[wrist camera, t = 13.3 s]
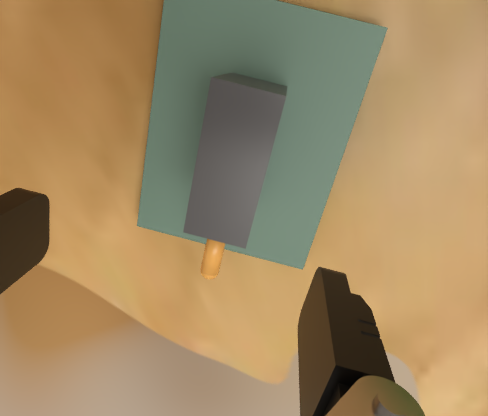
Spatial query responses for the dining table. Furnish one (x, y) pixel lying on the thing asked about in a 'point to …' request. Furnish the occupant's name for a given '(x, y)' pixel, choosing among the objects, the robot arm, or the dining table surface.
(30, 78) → the dining table surface
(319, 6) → the dining table surface
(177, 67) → the header board
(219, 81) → the block
